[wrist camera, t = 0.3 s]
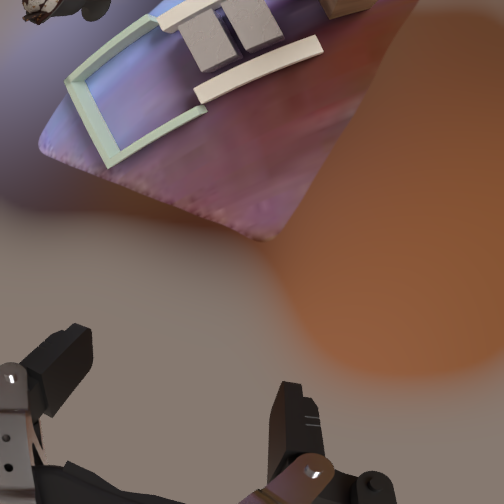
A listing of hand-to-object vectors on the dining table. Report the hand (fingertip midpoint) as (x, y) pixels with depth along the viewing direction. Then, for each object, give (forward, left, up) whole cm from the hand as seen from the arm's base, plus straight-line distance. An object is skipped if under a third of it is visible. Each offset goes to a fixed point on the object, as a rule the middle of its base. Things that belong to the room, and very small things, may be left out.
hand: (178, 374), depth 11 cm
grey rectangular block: (-16, +1, -29) cm, 33 cm away
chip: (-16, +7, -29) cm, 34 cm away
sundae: (-31, -10, -29) cm, 43 cm away
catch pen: (-16, -10, -29) cm, 34 cm away
